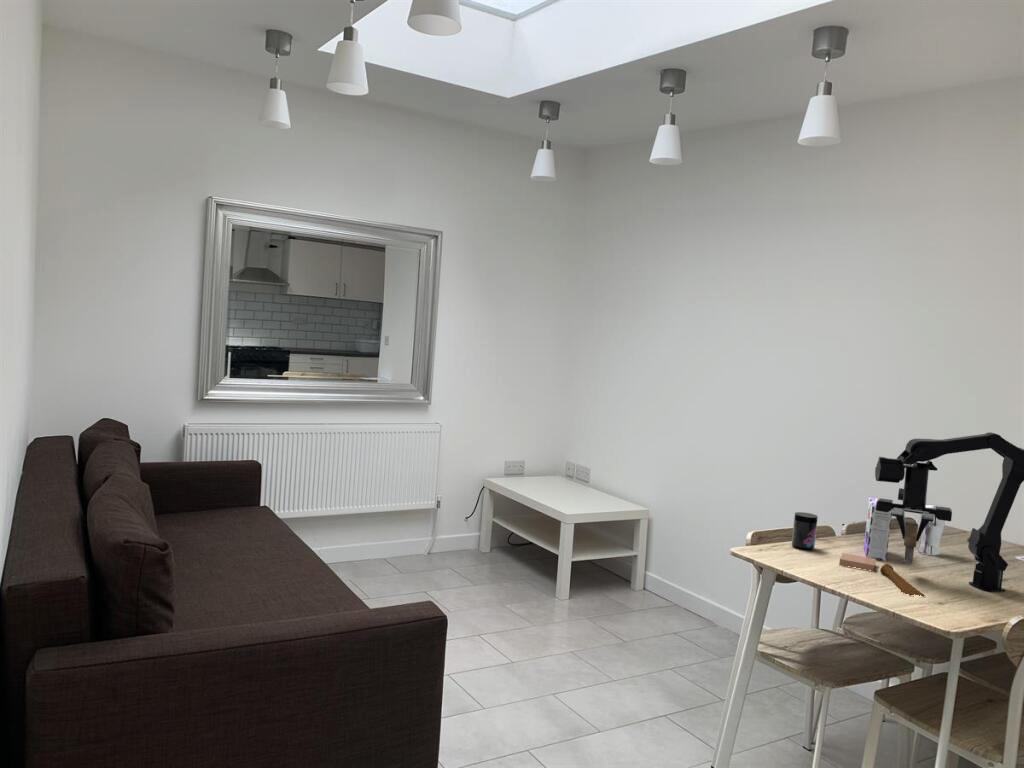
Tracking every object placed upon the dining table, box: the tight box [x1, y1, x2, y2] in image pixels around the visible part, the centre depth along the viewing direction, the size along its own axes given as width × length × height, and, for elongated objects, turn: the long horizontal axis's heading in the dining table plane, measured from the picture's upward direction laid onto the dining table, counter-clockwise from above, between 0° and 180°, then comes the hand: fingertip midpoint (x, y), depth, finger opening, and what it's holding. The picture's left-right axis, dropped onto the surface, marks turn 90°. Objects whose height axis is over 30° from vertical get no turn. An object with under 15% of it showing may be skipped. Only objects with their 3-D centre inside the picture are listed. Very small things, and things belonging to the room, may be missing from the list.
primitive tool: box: [879, 563, 925, 596], centre depth 218 cm, size 19×6×4 cm, turn 0°
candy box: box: [863, 496, 893, 562], centre depth 248 cm, size 14×6×16 cm, turn 160°
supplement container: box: [791, 511, 819, 552], centre depth 249 cm, size 7×7×10 cm
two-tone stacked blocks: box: [903, 522, 919, 565], centre depth 225 cm, size 3×9×10 cm, turn 152°
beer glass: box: [917, 503, 946, 557], centre depth 255 cm, size 7×7×15 cm
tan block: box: [838, 552, 877, 572], centre depth 234 cm, size 2×8×9 cm
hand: (910, 540), depth 225 cm, fingers closed on two-tone stacked blocks, 3 cm apart
